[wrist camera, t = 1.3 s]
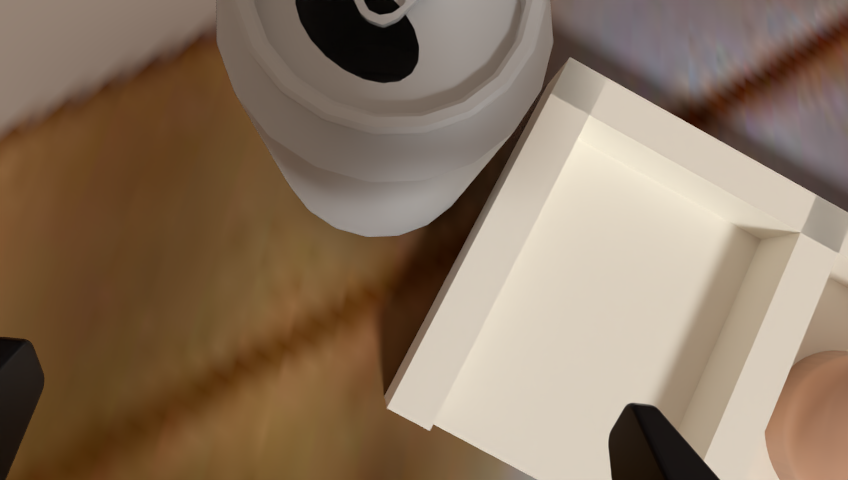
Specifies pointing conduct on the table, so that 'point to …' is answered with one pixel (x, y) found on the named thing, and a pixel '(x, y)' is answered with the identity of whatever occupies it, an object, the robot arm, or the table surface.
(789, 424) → the terracotta dish
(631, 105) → the divider tray
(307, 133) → the can
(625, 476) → the robot arm
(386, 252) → the table surface
